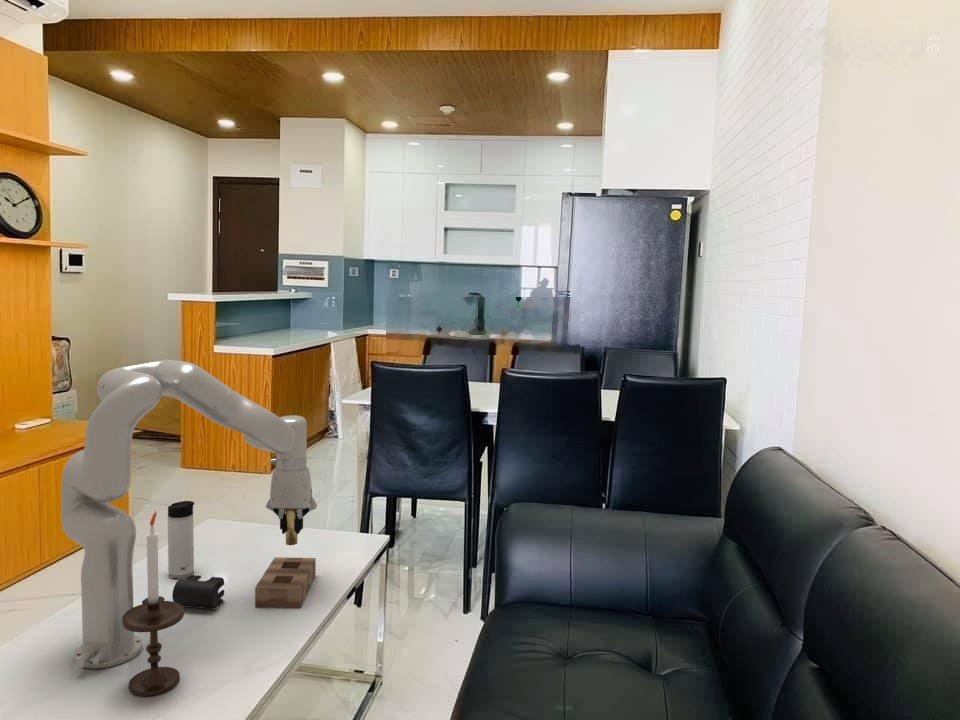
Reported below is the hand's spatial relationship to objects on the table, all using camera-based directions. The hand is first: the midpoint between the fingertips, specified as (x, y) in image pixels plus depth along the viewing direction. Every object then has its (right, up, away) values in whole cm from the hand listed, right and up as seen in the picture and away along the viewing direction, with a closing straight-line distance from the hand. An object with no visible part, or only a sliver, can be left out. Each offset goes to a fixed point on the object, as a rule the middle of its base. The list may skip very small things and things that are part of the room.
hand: (291, 531), depth 181 cm
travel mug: (-31, -13, +4) cm, 34 cm away
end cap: (-19, -15, -13) cm, 28 cm away
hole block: (0, -15, -3) cm, 15 cm away
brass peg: (0, -3, 0) cm, 3 cm away
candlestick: (-15, -19, -46) cm, 51 cm away
